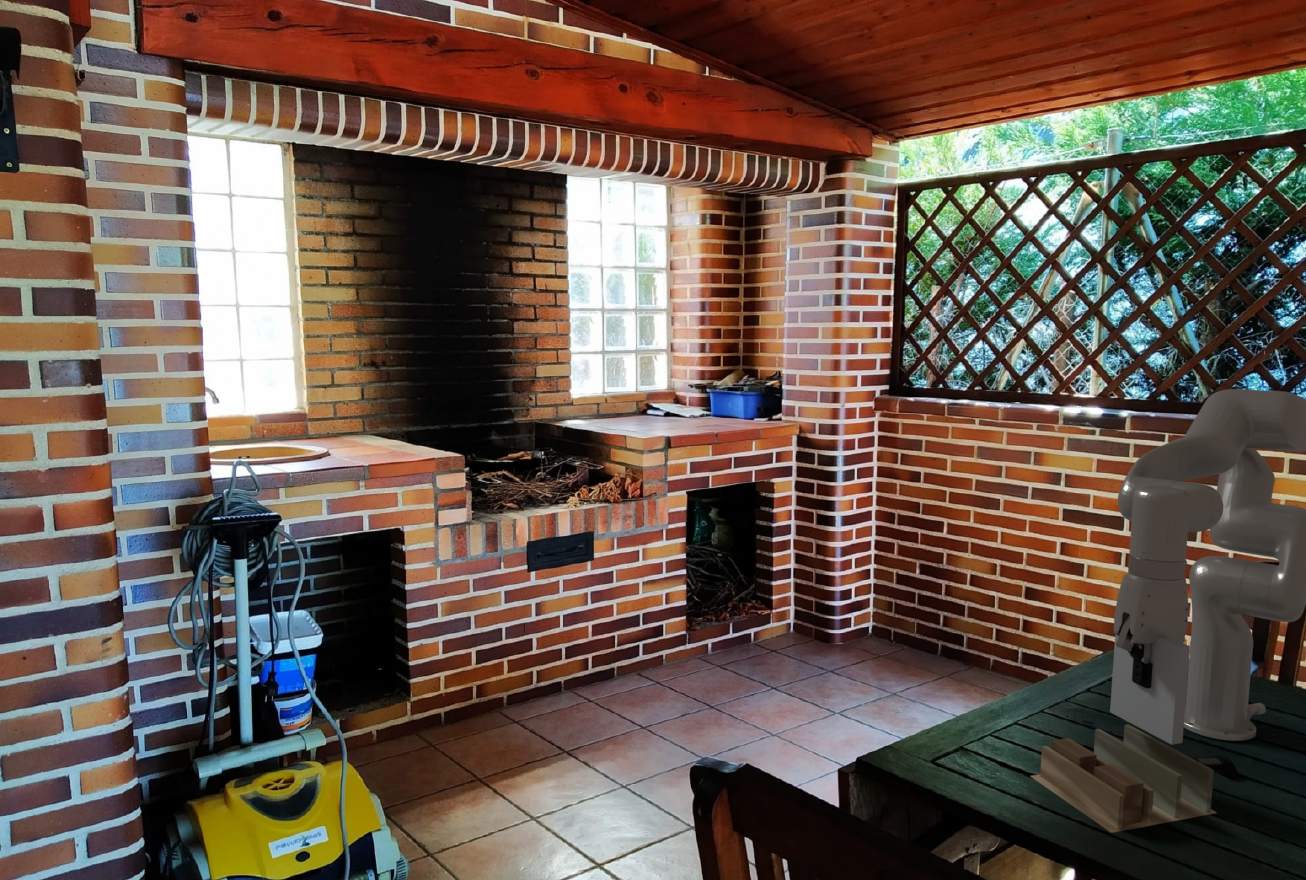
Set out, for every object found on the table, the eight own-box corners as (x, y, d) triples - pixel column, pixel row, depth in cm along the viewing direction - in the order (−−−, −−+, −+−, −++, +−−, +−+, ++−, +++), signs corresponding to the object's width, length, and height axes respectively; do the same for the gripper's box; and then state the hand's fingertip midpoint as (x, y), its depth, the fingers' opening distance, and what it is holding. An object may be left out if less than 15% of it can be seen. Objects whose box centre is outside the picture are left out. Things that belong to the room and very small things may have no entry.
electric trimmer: (1133, 772, 150) (1135, 753, 149) (1224, 768, 150) (1225, 750, 150) (1147, 783, 146) (1148, 764, 145) (1240, 779, 147) (1241, 761, 146)
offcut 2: (1109, 801, 136) (1111, 764, 135) (1140, 822, 130) (1143, 783, 130) (1091, 804, 135) (1094, 766, 135) (1122, 825, 130) (1125, 786, 129)
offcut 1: (1066, 773, 145) (1068, 738, 144) (1094, 792, 139) (1096, 755, 138) (1049, 776, 144) (1051, 740, 143) (1077, 795, 138) (1079, 757, 137)
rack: (1126, 768, 150) (1129, 722, 149) (1216, 822, 133) (1220, 771, 132) (1029, 784, 144) (1032, 737, 143) (1111, 842, 128) (1114, 789, 127)
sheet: (1120, 710, 146) (1126, 621, 144) (1182, 743, 135) (1190, 646, 133) (1109, 712, 146) (1116, 622, 144) (1171, 744, 134) (1179, 647, 132)
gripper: (1177, 558, 143) (1168, 670, 145) (1095, 565, 139) (1087, 680, 141) (1218, 570, 136) (1209, 688, 138) (1133, 578, 131) (1125, 699, 134)
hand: (1147, 683), depth 139 cm, fingers closed on sheet, 1 cm apart
